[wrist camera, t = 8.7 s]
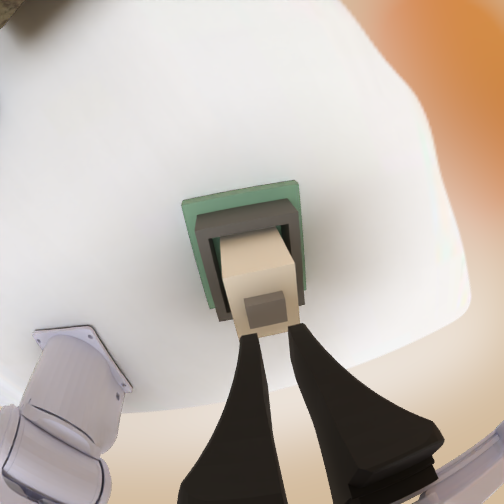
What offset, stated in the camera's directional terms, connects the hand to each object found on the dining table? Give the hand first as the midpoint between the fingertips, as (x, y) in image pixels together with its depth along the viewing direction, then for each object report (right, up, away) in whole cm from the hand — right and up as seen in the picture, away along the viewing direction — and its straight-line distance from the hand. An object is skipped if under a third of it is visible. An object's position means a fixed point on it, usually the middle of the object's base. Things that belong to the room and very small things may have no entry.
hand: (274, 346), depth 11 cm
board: (-1, +4, +8) cm, 9 cm away
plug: (-1, +4, +7) cm, 8 cm away
